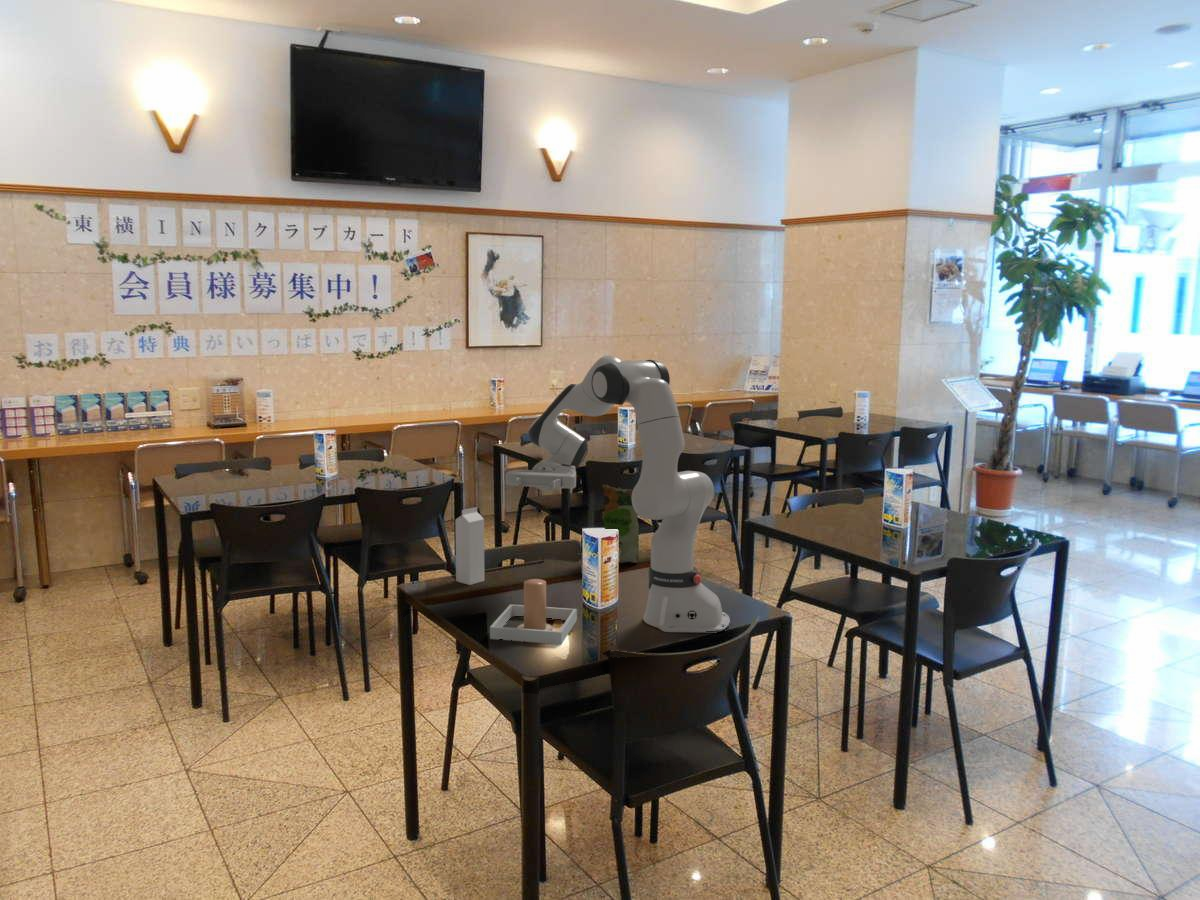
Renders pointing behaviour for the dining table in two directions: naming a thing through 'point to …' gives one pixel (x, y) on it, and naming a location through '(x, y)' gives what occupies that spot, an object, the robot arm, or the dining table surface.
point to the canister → (535, 604)
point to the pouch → (622, 521)
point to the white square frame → (532, 634)
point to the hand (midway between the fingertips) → (534, 484)
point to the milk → (469, 547)
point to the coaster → (548, 627)
